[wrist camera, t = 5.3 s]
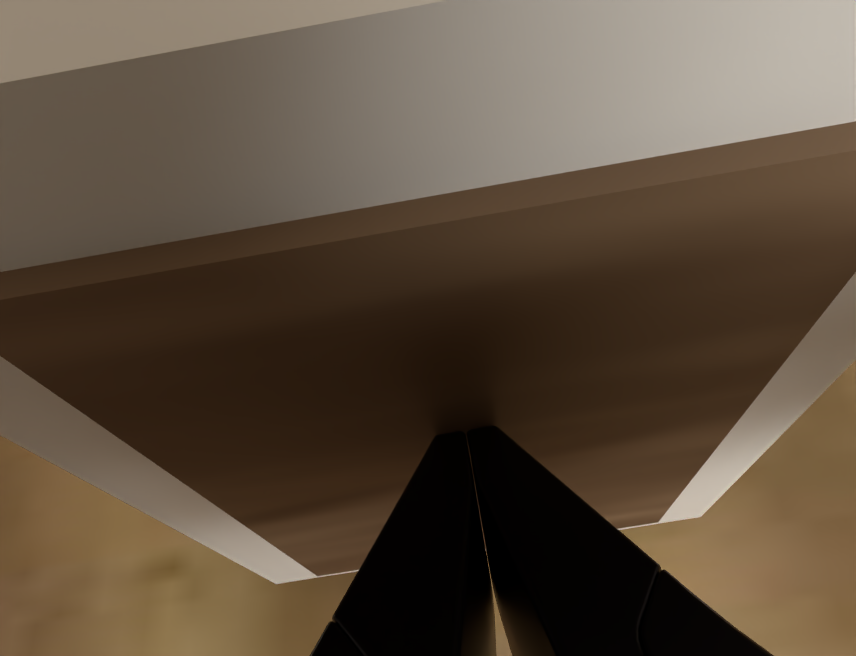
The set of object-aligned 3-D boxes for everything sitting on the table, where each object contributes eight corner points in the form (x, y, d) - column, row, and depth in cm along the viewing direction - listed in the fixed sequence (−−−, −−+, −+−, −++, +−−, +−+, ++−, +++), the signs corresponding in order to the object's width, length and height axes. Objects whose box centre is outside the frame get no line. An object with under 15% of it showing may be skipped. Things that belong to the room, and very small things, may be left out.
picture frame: (705, 528, 15) (1439, -154, 3) (275, 596, 15) (-524, 207, 3) (637, 350, 18) (884, -347, 6) (279, 409, 18) (-146, -143, 6)
